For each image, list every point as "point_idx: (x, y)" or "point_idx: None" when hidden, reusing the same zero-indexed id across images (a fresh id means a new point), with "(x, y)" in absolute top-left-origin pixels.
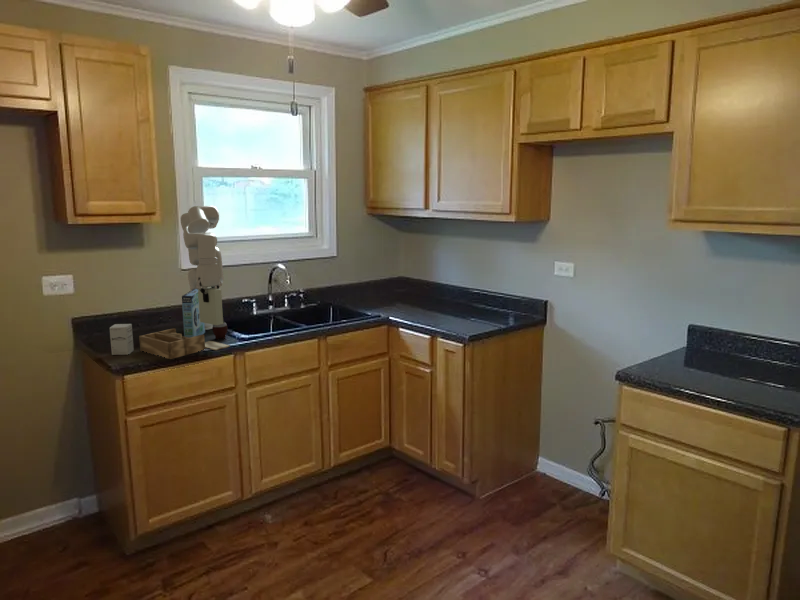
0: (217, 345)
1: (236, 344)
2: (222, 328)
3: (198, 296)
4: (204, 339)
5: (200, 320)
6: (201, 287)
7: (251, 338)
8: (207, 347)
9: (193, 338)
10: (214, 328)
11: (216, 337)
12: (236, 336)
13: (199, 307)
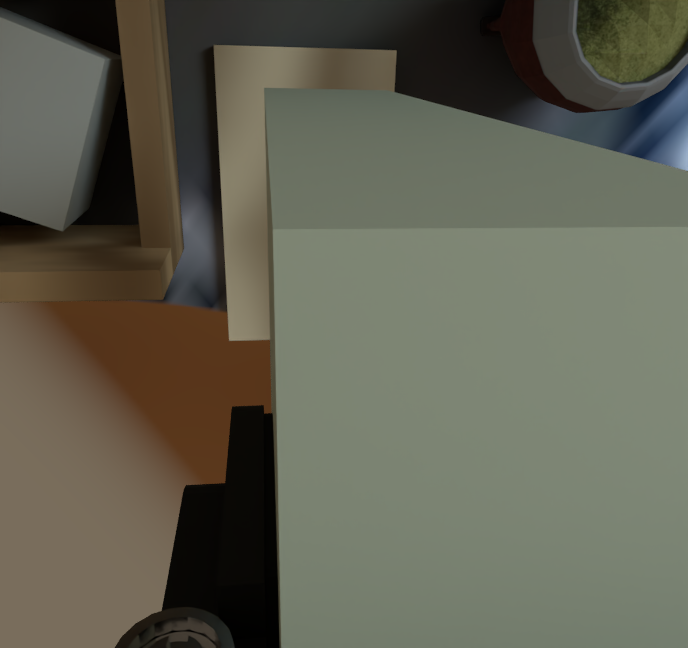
0: None
1: None
2: (568, 106)
3: (269, 140)
4: (169, 281)
5: (264, 102)
6: (598, 266)
7: None
8: (223, 232)
9: (12, 298)
10: (522, 19)
11: (496, 30)
12: (677, 94)
13: (265, 119)
